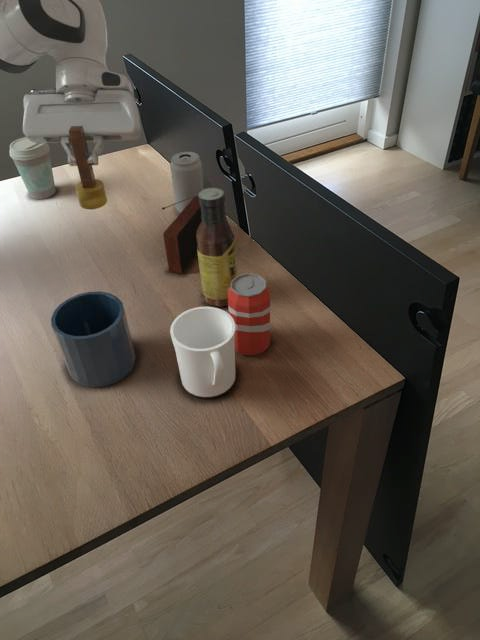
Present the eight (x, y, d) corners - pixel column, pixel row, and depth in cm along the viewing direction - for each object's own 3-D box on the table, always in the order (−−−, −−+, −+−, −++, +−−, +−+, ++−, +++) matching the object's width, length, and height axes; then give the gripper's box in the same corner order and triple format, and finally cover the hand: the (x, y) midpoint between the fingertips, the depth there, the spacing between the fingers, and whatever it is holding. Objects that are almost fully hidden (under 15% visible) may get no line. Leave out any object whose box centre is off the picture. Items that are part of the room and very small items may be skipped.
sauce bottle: (240, 306, 92) (235, 203, 78) (204, 310, 91) (192, 207, 78) (236, 283, 97) (230, 182, 83) (201, 287, 96) (190, 186, 83)
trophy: (77, 210, 98) (57, 135, 88) (83, 196, 101) (64, 122, 92) (104, 209, 97) (87, 133, 88) (109, 195, 101) (93, 121, 92)
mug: (171, 367, 82) (162, 316, 75) (225, 350, 84) (222, 300, 77) (193, 420, 74) (186, 369, 67) (253, 400, 76) (251, 349, 70)
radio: (203, 226, 111) (196, 157, 101) (216, 228, 110) (211, 159, 100) (162, 278, 99) (150, 205, 89) (177, 281, 98) (166, 208, 88)
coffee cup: (26, 205, 120) (9, 155, 112) (21, 189, 126) (4, 140, 118) (64, 196, 123) (50, 146, 115) (58, 181, 129) (44, 132, 121)
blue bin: (61, 388, 80) (42, 340, 73) (76, 340, 87) (60, 292, 80) (130, 386, 79) (117, 337, 73) (139, 338, 87) (128, 290, 80)
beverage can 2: (269, 329, 87) (269, 270, 79) (270, 358, 82) (270, 297, 74) (231, 330, 87) (227, 271, 79) (230, 358, 83) (226, 298, 75)
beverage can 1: (203, 200, 119) (199, 148, 111) (207, 215, 114) (202, 162, 106) (175, 203, 118) (168, 152, 110) (177, 219, 114) (170, 166, 106)
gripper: (15, 80, 91) (16, 160, 91) (135, 76, 91) (137, 156, 90) (30, 97, 98) (31, 172, 97) (143, 93, 97) (144, 168, 97)
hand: (83, 164), depth 94 cm, fingers closed on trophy
